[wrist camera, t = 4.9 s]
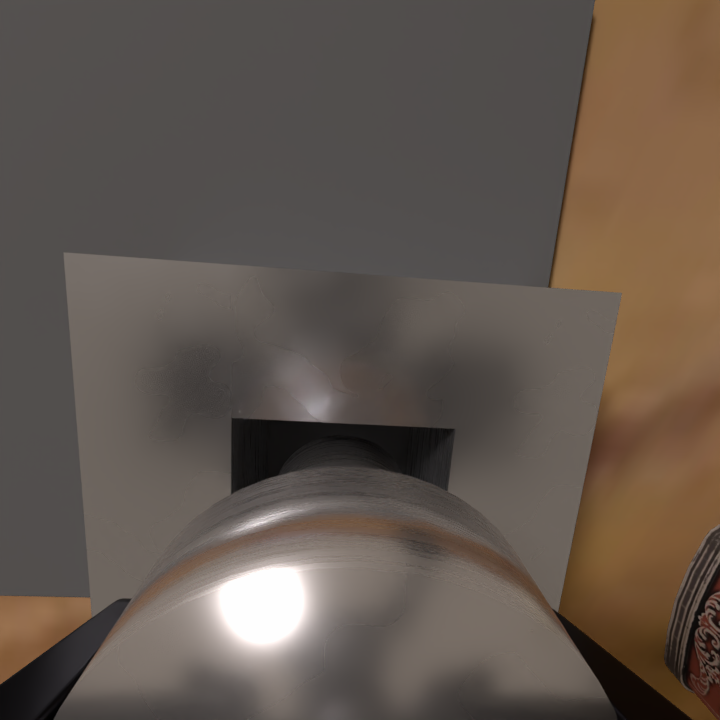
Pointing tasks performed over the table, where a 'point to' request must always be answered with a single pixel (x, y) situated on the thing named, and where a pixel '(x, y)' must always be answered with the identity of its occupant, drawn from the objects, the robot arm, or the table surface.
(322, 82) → the mat
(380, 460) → the silver door knob
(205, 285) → the hitch block
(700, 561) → the lighter
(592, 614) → the table surface
